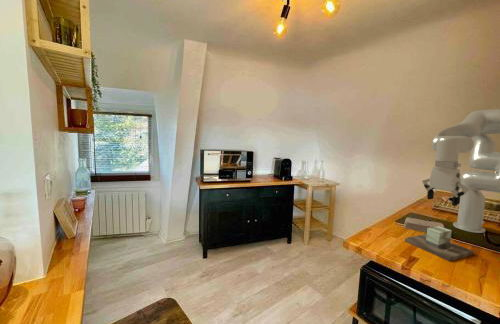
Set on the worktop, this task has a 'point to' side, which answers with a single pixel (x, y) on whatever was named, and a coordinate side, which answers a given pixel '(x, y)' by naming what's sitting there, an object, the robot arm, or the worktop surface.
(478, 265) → the worktop surface
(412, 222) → the brick
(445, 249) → the board
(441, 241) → the block
